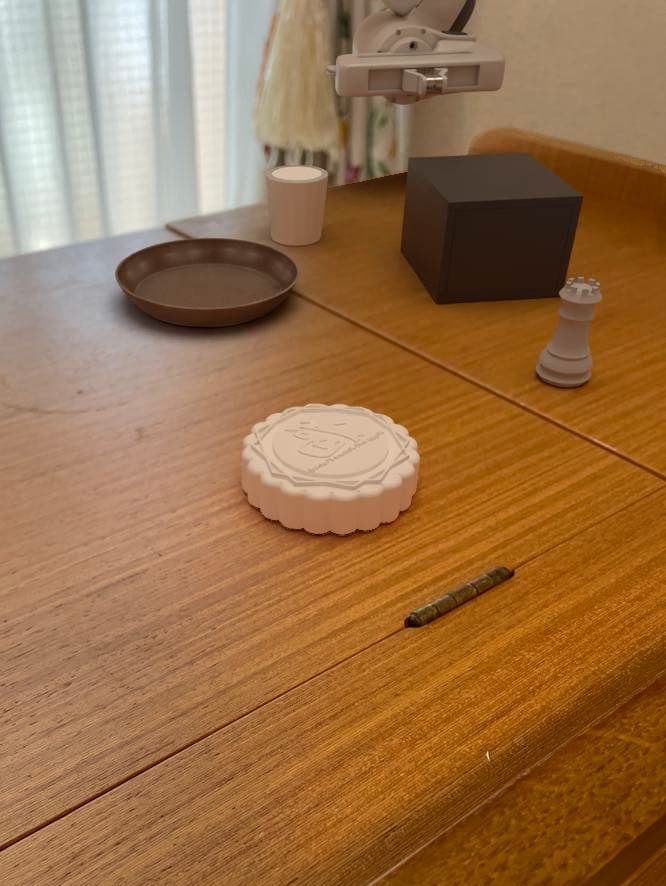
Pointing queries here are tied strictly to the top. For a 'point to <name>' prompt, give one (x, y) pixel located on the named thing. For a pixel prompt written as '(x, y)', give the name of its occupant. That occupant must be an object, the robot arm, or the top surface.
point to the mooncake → (330, 468)
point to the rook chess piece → (571, 336)
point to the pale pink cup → (296, 203)
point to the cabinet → (488, 227)
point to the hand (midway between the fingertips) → (434, 86)
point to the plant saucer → (207, 280)
